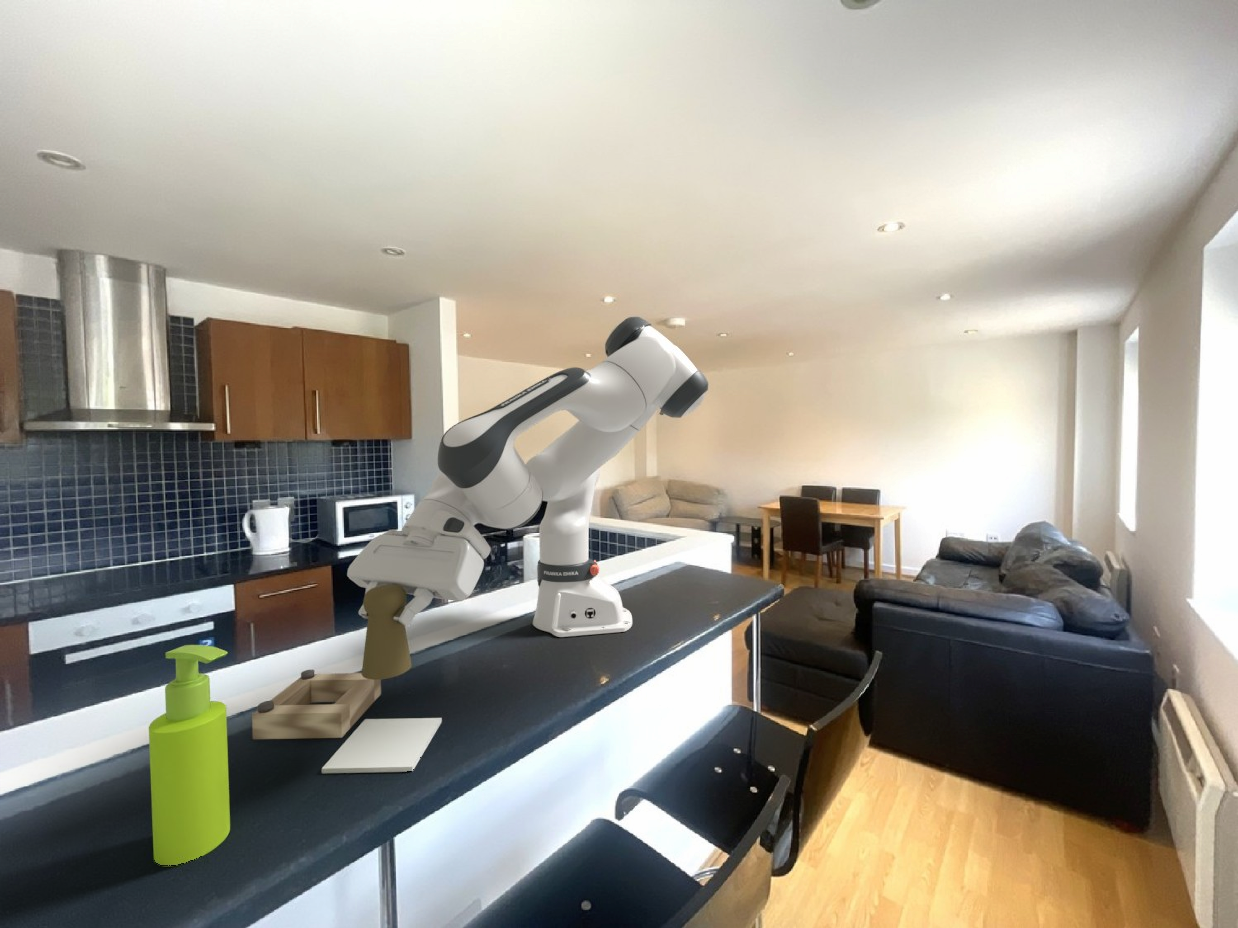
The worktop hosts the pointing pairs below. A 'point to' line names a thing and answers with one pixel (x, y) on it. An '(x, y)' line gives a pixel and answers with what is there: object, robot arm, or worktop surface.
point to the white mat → (384, 746)
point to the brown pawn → (385, 634)
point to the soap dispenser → (189, 763)
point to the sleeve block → (316, 706)
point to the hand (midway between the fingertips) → (382, 620)
